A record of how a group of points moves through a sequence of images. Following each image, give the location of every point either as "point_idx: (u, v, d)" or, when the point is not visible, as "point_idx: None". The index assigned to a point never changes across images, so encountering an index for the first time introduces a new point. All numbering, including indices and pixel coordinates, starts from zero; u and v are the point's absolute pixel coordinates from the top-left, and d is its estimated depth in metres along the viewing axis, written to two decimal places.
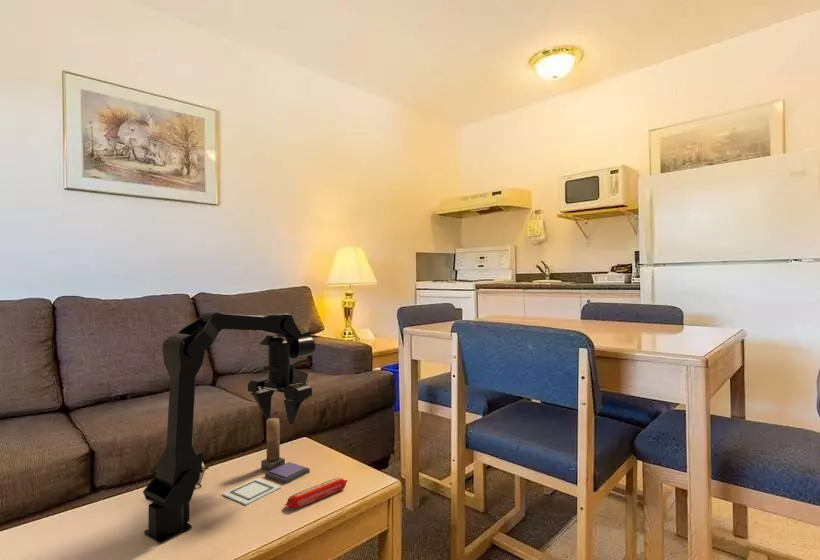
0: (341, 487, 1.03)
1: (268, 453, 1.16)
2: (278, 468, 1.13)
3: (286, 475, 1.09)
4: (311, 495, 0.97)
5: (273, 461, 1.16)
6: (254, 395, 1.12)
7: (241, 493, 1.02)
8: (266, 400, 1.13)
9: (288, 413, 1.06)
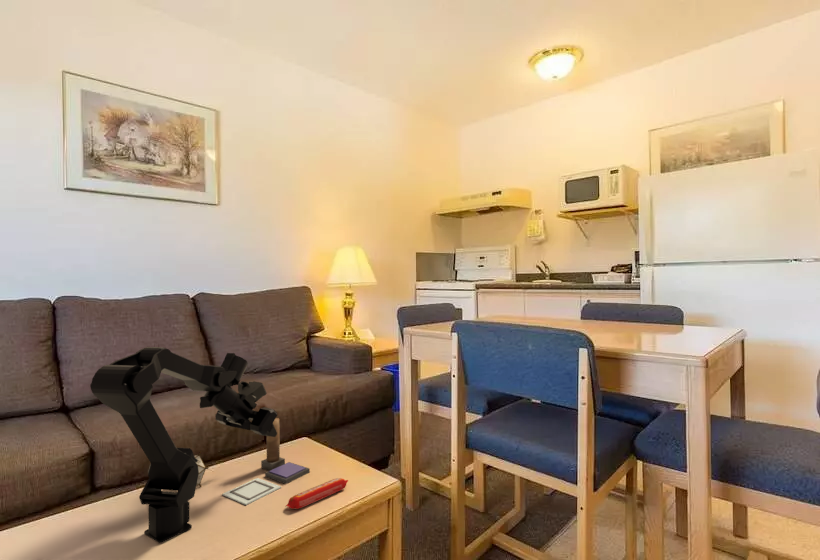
0: (342, 487, 1.03)
1: (268, 453, 1.16)
2: (278, 468, 1.13)
3: (286, 475, 1.09)
4: (312, 495, 0.97)
5: (273, 461, 1.16)
6: (228, 425, 1.13)
7: (241, 493, 1.02)
8: None
9: (266, 435, 1.10)
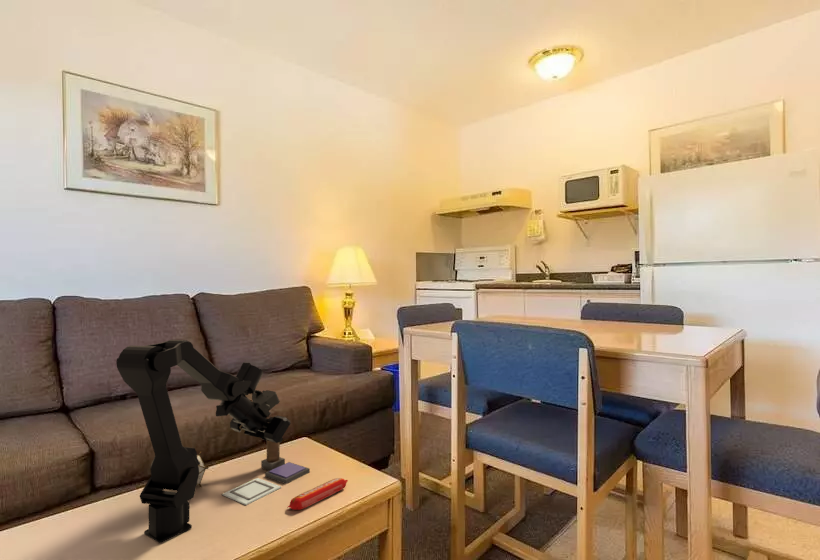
0: (342, 487, 1.03)
1: (268, 453, 1.16)
2: (278, 468, 1.13)
3: (286, 475, 1.09)
4: (313, 496, 0.97)
5: (273, 461, 1.16)
6: None
7: (241, 493, 1.02)
8: None
9: None
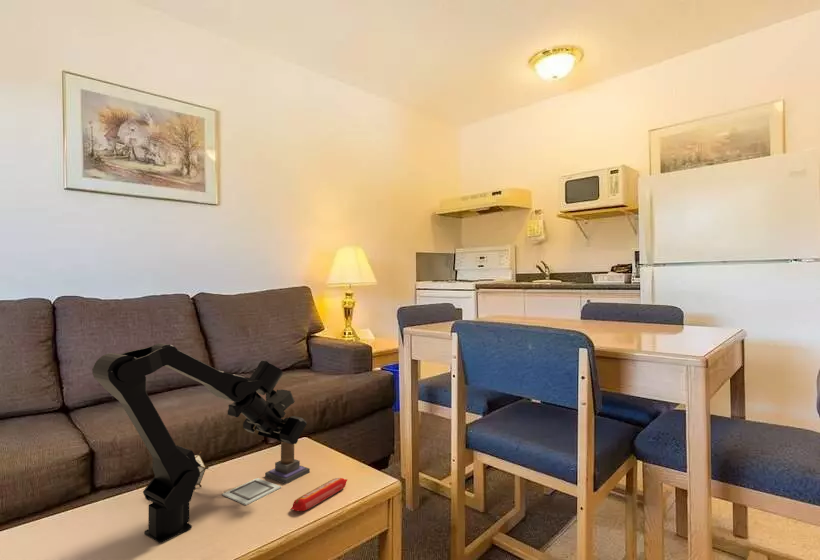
0: (342, 486, 1.04)
1: (283, 454, 1.11)
2: None
3: (286, 475, 1.09)
4: (316, 496, 0.97)
5: (288, 463, 1.11)
6: None
7: (241, 493, 1.02)
8: None
9: None
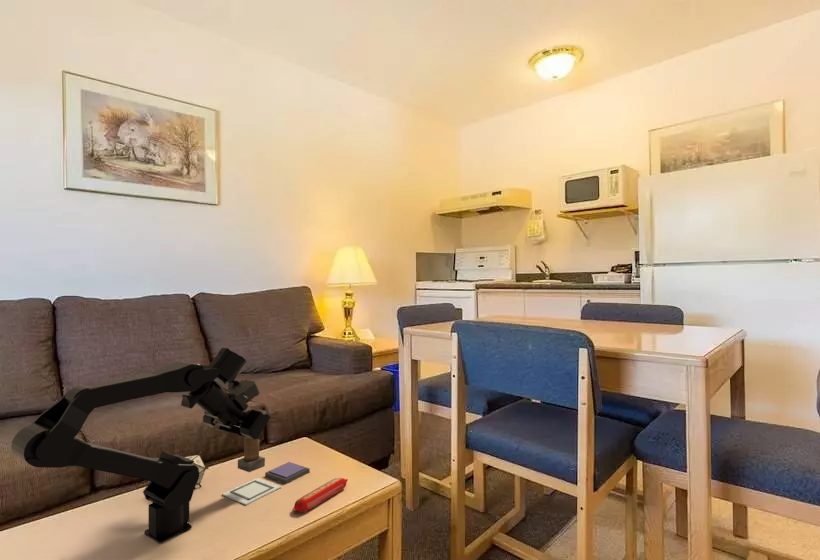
0: (343, 486, 1.04)
1: (246, 450, 1.02)
2: (278, 468, 1.13)
3: (286, 475, 1.09)
4: (318, 496, 0.97)
5: (251, 460, 1.02)
6: (223, 430, 1.01)
7: (241, 493, 1.02)
8: None
9: None
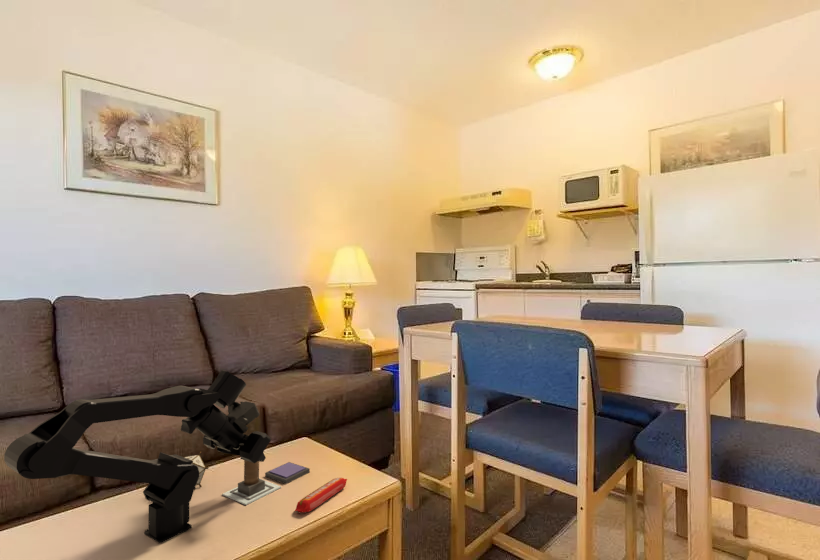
0: (343, 486, 1.04)
1: (246, 474, 1.02)
2: (278, 468, 1.13)
3: (286, 475, 1.09)
4: (320, 497, 0.96)
5: (251, 484, 1.02)
6: None
7: (241, 493, 1.02)
8: None
9: None
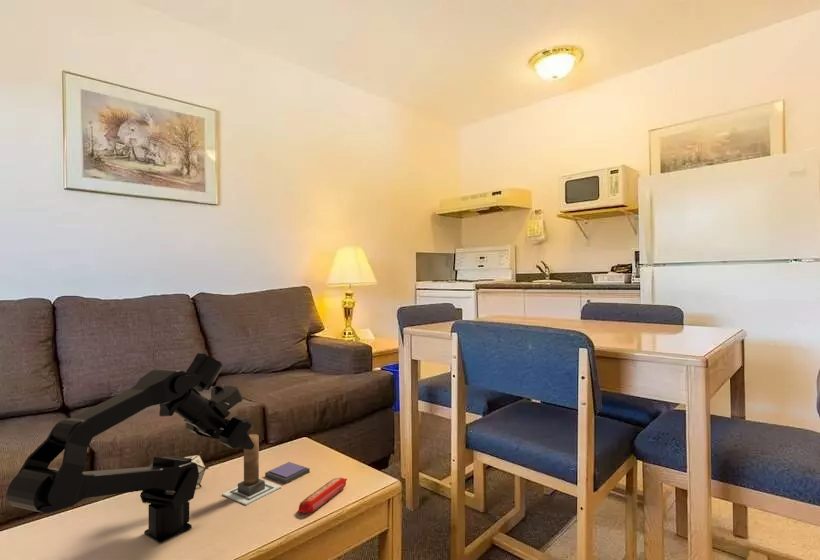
0: (343, 486, 1.04)
1: (245, 474, 1.02)
2: (278, 468, 1.13)
3: (286, 475, 1.09)
4: (321, 497, 0.96)
5: (251, 484, 1.02)
6: (200, 435, 1.00)
7: (241, 493, 1.02)
8: None
9: None
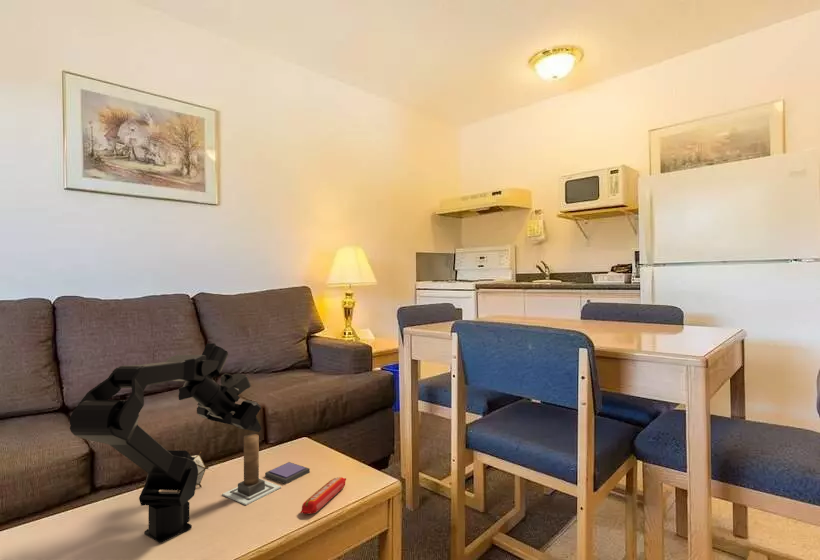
0: (343, 485, 1.04)
1: (245, 474, 1.02)
2: (278, 468, 1.13)
3: (286, 475, 1.09)
4: (324, 497, 0.96)
5: (251, 484, 1.02)
6: (210, 419, 1.08)
7: (241, 493, 1.02)
8: None
9: None
